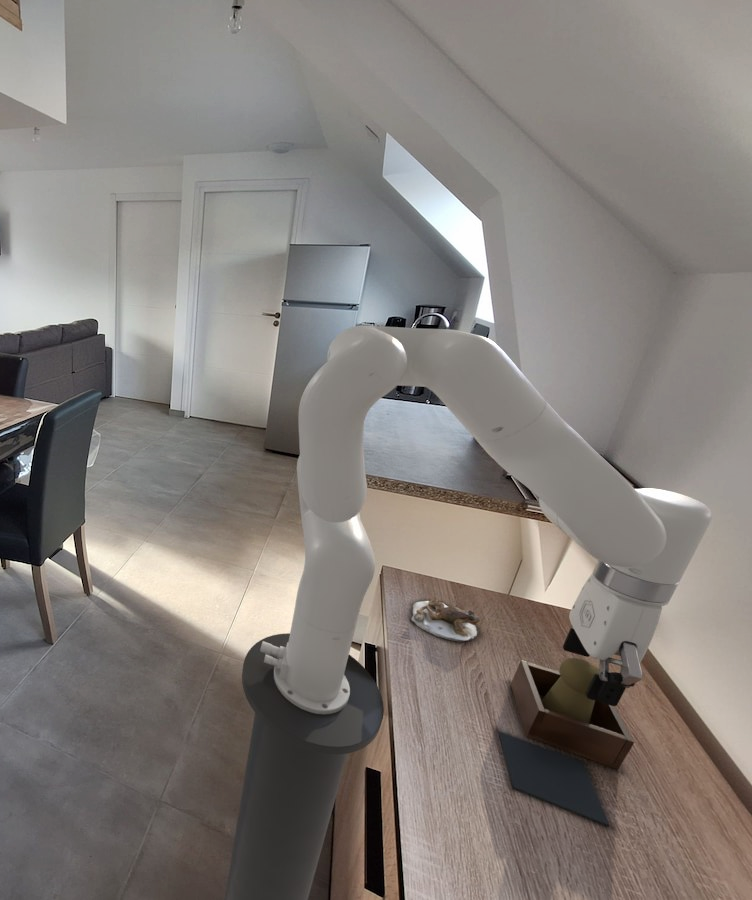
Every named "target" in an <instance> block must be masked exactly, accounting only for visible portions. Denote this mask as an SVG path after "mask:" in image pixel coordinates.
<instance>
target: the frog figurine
mask: <svg viewBox="0 0 752 900" xmlns="http://www.w3.org/2000/svg"><path fill="white" fill-rule="evenodd" d="M410 620H411V622H412V623H414V624H415V625H416V626H417V627H418V628H420V629H422V630H423V631H425V632H427V633H429V634H431V635H432V636H435V637H437V638H441V639H445V640H448V641H452V642H465V641H470V640H472V639H474V638H476V637H477V636H478V635H477V634H478V631H477V626H476V625H477V624H478V623H480V621H481V619H480V617H478V616H477V615H476V614H475V611H473V610H466V609H461V608H460V607H457V606H454V605H453V606H448V605H446V604H445V603H444V601H443V600H437V598H436V597H434V598H432V599H430V600H422V601H416V602H414V603H413V604H412V616H411V618H410Z"/></svg>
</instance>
